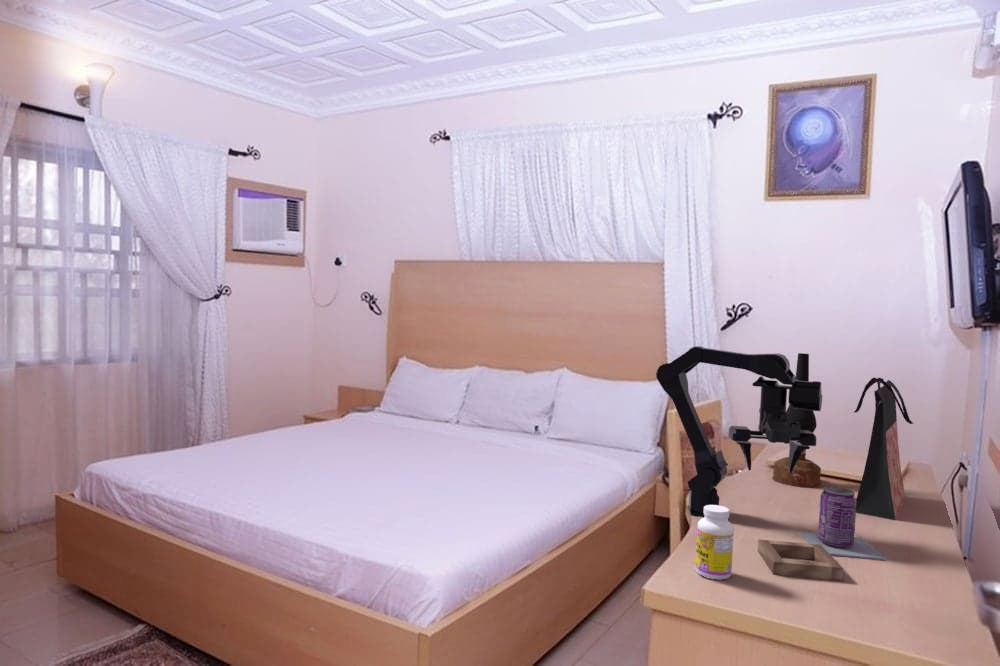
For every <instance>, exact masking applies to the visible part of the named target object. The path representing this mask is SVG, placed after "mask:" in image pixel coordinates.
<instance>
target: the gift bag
mask: <svg viewBox="0 0 1000 666" xmlns="http://www.w3.org/2000/svg"><path fill="white" fill-rule="evenodd" d="M876 383H877V389H876V390H874V391H873V392H874V400H875V405H874V406H875V409H874V410H875V411H874V419H873V424H872V430H871V435H870V441H869V446H868V451H867V457H866V461H865V465H864V470H863V473H862V477H861V481H860V485H859V488H858V491H857V496H856V497H855V498H856V501H857V503H856V514H861V515H862V514H863V515H866V516H873V517H876V516H877V517H876V518H881V517H882V518H881V519H888V520H891V521H892V520H893V521H896V520H897V518H898V516H899V514H900V512H901V510H902V507H903V505H904V502H905V500H906V499H907V498H906V493H905V486H904V481H903V480H904V479H903V474H902V473H903V472H902V467H901V461H900V450H899V449H900V448H899V447H900V446H899V435H898V421H897V420H898V419H897V407H898V408H899V409H898V410H899V411H900V413H901V416H902V417H903V419H904V420H905V422H907V423H908V424H909V425H914V422H913V421H911V419H910V417H909V414H908V409H907V407H906V404H905V401H904V398H903V396H902V394H901V393H900V390H899V389H898V388H897V386H896V385H895V384H894V382H892V381H891V380H890V379H888V380H886V381H885V379H883V378H882V377H872V378H871V379H870V380H869V381H868V382H867V383H866V384H865V386H864V389H863V391H862V392H861V393H862V394H861V396H860V398H859V400H858V404H857V406H856V409H855V410H854V411H853V413H858V412H859V411H860V410H861V407H862V405H863V402H864V398H865V396H866V393H867V391H868V390H869V388H871V387H872V386H873V385H874V384H876ZM881 384H882V385H883V386H881ZM896 394H897V395H896ZM897 396H898V398H897ZM898 399H899V400H900V401H899V400H898ZM900 403H901V404H900ZM905 498H906V499H905ZM900 509H901V510H900Z"/></svg>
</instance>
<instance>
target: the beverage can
mask: <svg viewBox="0 0 1000 666" xmlns="http://www.w3.org/2000/svg"><path fill="white" fill-rule="evenodd" d="M822 490H823V491H822V492H821V494H820V501H819V515H818V531H817V534H818V538H819V539H820V540H821V541H823V542H824V543H825V544H827V545H830V546H833V547H840V548H845V547H848V546H852V545H853V544H854V537H855V531H856V530H855V529H856V516H857V515H856V514H857V513H856V503H857V501H856V498H857V497H856V496H855V494H856V492H855V491H854V490H852V489H849V488H847V487H843V486H834V485H829V486H824V487H823V488H822Z"/></svg>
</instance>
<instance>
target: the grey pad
mask: <svg viewBox="0 0 1000 666" xmlns="http://www.w3.org/2000/svg"><path fill="white" fill-rule="evenodd" d="M800 535H801V536H802V537H803V538H804V539H805V541H806V542H807V543H808V544H818V545H822V546H823V547H824V548H825V550H826V551H827V552H828V553H829V554H830V555H831V556H832V557H844V558H845V557H846V558H853V559H867V560H878V561H886V557H884V556H883V555H882V554H881V553H880V552H879V551H878V550H876V549H875V548H874V547H873V546H871V545H870V543H868V542H867V541H866V540H865V539H863V537H859V536H854V544H853V545H852V546H848V547H845V548H840V547H833V546H830V545H827V544H825V543H824V542H823V541H821V540H820V539H819V538H818V533H814V532H802V531H801V532H800Z"/></svg>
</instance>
